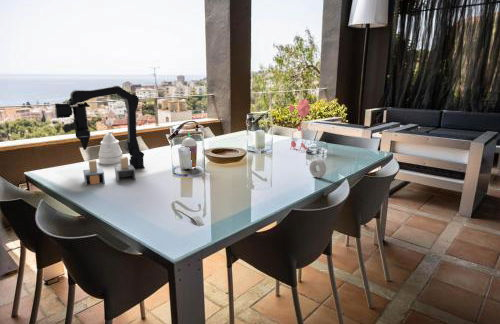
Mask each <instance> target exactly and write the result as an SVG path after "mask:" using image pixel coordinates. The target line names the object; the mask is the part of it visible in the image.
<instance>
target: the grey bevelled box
mask: <svg viewBox="0 0 500 324" xmlns="http://www.w3.org/2000/svg"><path fill="white" fill-rule="evenodd" d="M120 160H121V162H120V165H119V166H114V173H115V179H116V181H117V182H120V178H125V177H132V178H133V180H135V181H136V180H137V178H136V177H137V175H136V169H135V168H134V167H133V165H130V164H129V158H128V157H127V156H122V157H120Z"/></svg>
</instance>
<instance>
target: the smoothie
mask: <svg viewBox="0 0 500 324" xmlns="http://www.w3.org/2000/svg"><path fill="white" fill-rule="evenodd" d="M187 135H188V137H186V138H184V139H183V140H182V143H181V147H182V146H185V147H189V148H190V151H191V160H192V167H195V168H196V167H197V156H198V155H197V154H198V153H197V152H198V143H197V141H196V140H195V139H194V138H193V137H191V135H190V132H188V133H187Z"/></svg>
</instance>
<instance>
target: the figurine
mask: <svg viewBox="0 0 500 324" xmlns="http://www.w3.org/2000/svg"><path fill="white" fill-rule="evenodd" d="M295 109H296V110H297V113H298V114H297V115H296V118H298V119H300V120H301V122H300V125H299V126H298V127H297V129H296V130H293V131H292V132H291V134H292V138H294V135H293V133H294V132H296V131H298V132H300V131H301V133H302V138H304V136H305V135H304V132H303V130H302V123H303V120H304V119H303V118H306V117H307V116H308V114H309V115H310V116H312V118H313V119H316V118H315V117H314V115H313V114H312V113H311V112H310V110H311V105H310V101H309V100H307V98H304V99H303V98H300V100H299V102H298V105H297V106H296V108H295V106H294V105H293V104H291V105H289V106H288V110H289V112H290V115H291V117H293V113H294V111H295ZM296 147H297V142H296V141H295V140H291V143H290V147H289V150H290V149H292V148H293V149H295V148H296ZM301 148H303V149H304V150H305V151H306V149H307V150H308V147H307V146H306V145H305V144H304V141H301V143H300V146H299V150H298V152H299V151H301Z"/></svg>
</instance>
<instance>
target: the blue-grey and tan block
mask: <svg viewBox="0 0 500 324" xmlns="http://www.w3.org/2000/svg"><path fill="white" fill-rule="evenodd" d="M97 165H98V164H97V160H96V159H90V160H88V167H89V169H83V170H82V171H83V179H84V184H85V185H84V186H85V187H88V183H87V182H90V180H89V175H96V174H99V181H100V180H101V181H102V183H103V184H106V181H105V172H104V169H103V168H102V167H100V168H99V167H98V166H97Z"/></svg>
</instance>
